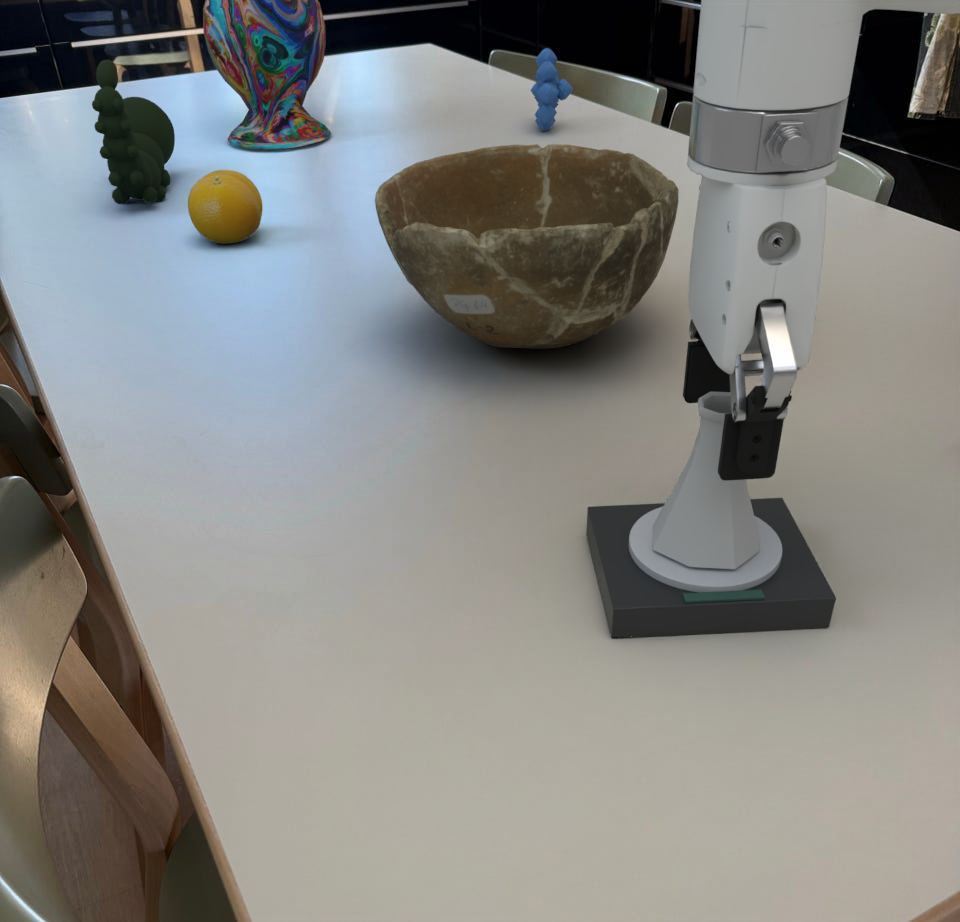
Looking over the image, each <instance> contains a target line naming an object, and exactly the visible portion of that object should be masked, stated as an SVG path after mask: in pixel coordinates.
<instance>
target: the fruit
mask: <svg viewBox="0 0 960 922" xmlns="http://www.w3.org/2000/svg"><path fill="white" fill-rule="evenodd" d="M263 207H264V206H263V200H262V196H261V193H260V191H259V189H258V187H257V186H256V185H255V183H254V182H253V181H252V180H251V179H250V178H249V177H247V175H245V174H243V173H241V172H239V171H235V170H230V169H219V170H214V171H211V172H208V173H207V174H205V175H204V176H202V177H201V178H200V179H198V180H197V181H196V182H195V183H194V184H193V186H192V187H191V188H190V191H189V193H188V197H187V209H188V215H189V218H190V221H191V223H192V225H193V226H194V228H195V230H196V231H197V232H198V233H199V234H200V236H203V237H204V238H205V239H207V240H209V241H211V242H214V243H218V244H236V243H239V242H242V241H244V240H247V239H248V238H250V237H252V236H253V235H254V234H255V233H256V231H257V230H258V229H259V228H260V225H261V220H262V216H263Z"/></svg>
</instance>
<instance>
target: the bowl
mask: <svg viewBox="0 0 960 922" xmlns="http://www.w3.org/2000/svg"><path fill="white" fill-rule="evenodd" d="M374 195H375V197H374V205H375V210H376V215H377V220H378V223H379V225H380V228H381V231H382V233H383V236H384V239H385V242H386V244H387V246H388V248H389V251H390V252H391V255H392V257H393V258H394V260H395V262H396V264H397V266H398V267H399V269H400V271H401V273H402V275H403V276H404V277H405V279H406V280H407V281H406V282H407V283H409V284H410V285H411V286H412V287H413V288H414V289H415V291H416V292H417V293H418V295H419V296H420V297H421V298H422V300H424V302H426V303H427V304H428V305H429V306H430V307H431V308H432V309H433V311H435V313H437V314H438V315H439V316H441V317H442V318H443V319H444V320H445V321H447V322H448V323H450V324H451V325H452V326H454V327H455V328H456V329H458V330H459V331H462V333H465V334H467V335H468V336H470V337H472V338H474V339H476V340H478V341H480V342H482V343H484V344H486V345H489V346H493V347H495V348H513V349H514V348H518V349H519V348H521V349H538V350H541V349H542V350H543V349H557V348H561V347H566V346H570V345H575V344H577V343H579V342H582V341H584V340H586V339H589V338H591V337H592V336H594V335H596V334H599V333H600V332H602V331H605V330H606V329H609V328H610V327H611V326H613V325H614V324H615V323H617V322H619V321H620V320H622V319H623V318H625V317H626V316H627V315H628V314H629V313H630V312H631V311H632V310H633V309H634V308H635V307H636V306H637V305H638V304H639V303H640V301H641V300H643V299H642V298H643V297H644V296H645V295H646V293H647V292H648V291H649V289H650V288H651V286H652V285H653V283H654V281H655V280H656V278H657V277H658V274H659V273H660V270H661V268H662V265H663V264H664V262H665V259H666V255H667V251H668V248H669V245H670V242H671V237H672V234H673V231H674V226H675V224H676V218H677V213H678V207H679V188H678V186H677V185H676V183H675V182H674V180H671V179H669V178H668V177H667V176H666V175H665V174H663V172H661V171H660V170H658V169H657V168H655V167H654V166H653V165H651V164H650V163H648V162H647V161H646V160H645V159H643V158H640V157H638V156H636V155H635V154H634V153H631V152H622V151H619V150H615V149H614V150H613V149H605V148H603V149H597V148H592V147H586V146H579V145H574V144H562V143H561V144H560V143H559V144H558V143H552V144H547V145H546V146H544V147H541V146H540V145H539V144H507V145H506V144H505V145H498V146H497V145H496V146H488V147H482V148H477V149H473V150H469V151H461V152H456V153H451V154H444V155H441V156H437V157H433V158H428V159H425V160H422V161H418V162H415V163H413V164H411V165H409V166H407V167H405V168H403V169H401V171H398V172H397V173H395V174H394V175H392V176H391V177H390V178H388V179H387V180H385V181H383V182H382V183H381V184H380V186H379V187H378V188H377V190H376V192H375V194H374Z"/></svg>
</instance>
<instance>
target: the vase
mask: <svg viewBox="0 0 960 922" xmlns="http://www.w3.org/2000/svg"><path fill="white" fill-rule="evenodd" d="M204 1H205V2H204V4H203V8H202V17H203V18H202V20H203V22H202V23H203V24H202V25H203V27H202V28H203V36H204V39H205V45H206V49H207V52H208V54H209V57H210V59H211V62H212V64H213V66H214V68H215V69H216V71H217V72H218V74H219V75H220V77H222V79H223V80H224V82H225V83H226V84H227V85H228V86H229V87H230V88H231V89H232V90H233V91H234V92H235V93H236V94H237V95H239V97H240V98H241V100H242V101H243V103H244V105H245V106H246V108H247V109H248V110H247V111H246V114H245V116H244V118H243V119H242V121H241V122H240V123H239V124H238V125H237V126H236V127H234V128H233V130H231V131H230V133H229V135H228V137H227V140H226V141H227V142H228V143H229V144H231V145H232V146H235V147H239V148H244V149H252V150H283V149H284V150H285V149H292V148H300V147H305V146H309V145H313V144H316V143H319V142H322V141H324V140H326V139H328V138H329V137H330V136H331V135H332V131H331V130H330V129H329V127H327V126H326V125H325V123H323V122H321V121H320V120H318V119H316V118H315V117H313V116H312V115H311V114H310V113H309V112H308V111H307V110H306V108H305V107H304V103H305V100H306V96H307V93H308V91H309V89H310V88H311V86H312V85H313V83H314V82H315V80H316V78H317V77H318V76H319V73H320V70H321V68H322V65H323V63H324V59H325V53H326V46H327V42H326V37H327V36H326V22H325V19H324V15H323V11H322V7H321V3H320V1H319V0H204Z"/></svg>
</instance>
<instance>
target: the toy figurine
mask: <svg viewBox="0 0 960 922" xmlns="http://www.w3.org/2000/svg"><path fill="white" fill-rule="evenodd" d="M95 73H96V75H95V77H96V81H97V84H98V87H99V89H98V90H97V91H96V93H95V95H94V100H92V102H91V106H92V109H93V110H94V112H98V116H97V121H96V122H95V123H94V130H95V131H96V132H97V133H99V134H101V135H103V137H102V146H101V147H100V149H99V155H100V157H101V158H102V159H103V160H107V161H106V163H107V168H108V171H109V175H108V177H107V180H108V182H109V184H110V185H111V186H112V187H116V188H115V189H113V190H112V192H111V198H112V200H113V201H114V202H115V204H118V205H125V204H127V203H129V202H130V200H131V199H134V200H140V201H141V200H143V201H144V202H146V203H148V204H149V203H154V202H156V201H160V202H161V201H163V200H165V199H166V197H167V190H166V188H168V187H169V186H170V185H171V182H172V178H171V175H170V173H169V171H168V170H167V169H165V168H166V167H165V165H166V164H167V163H168V161H170V160H171V157H172V155H173V153H174V150H175V143H176V137H175V129H174V125H173V123H172V121H171V119H170V117H169V115H168V114H167V113H166V112H165V111H164V110H163V109H162V108H161V107H160V106H159V105H158V104H156V102H153V101H151V100H150V99H147V98H145V97H140V96H127V97H124V98H123V96H122V94H121V93H120V92H119V91H118V90H116V88H117V86H118V83H119V73H118V67H117V65H116V63H115V62H114V61H112V60H111V59H104V60H101V61H100V62H99V64H98V65H97V67H96V72H95Z"/></svg>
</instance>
